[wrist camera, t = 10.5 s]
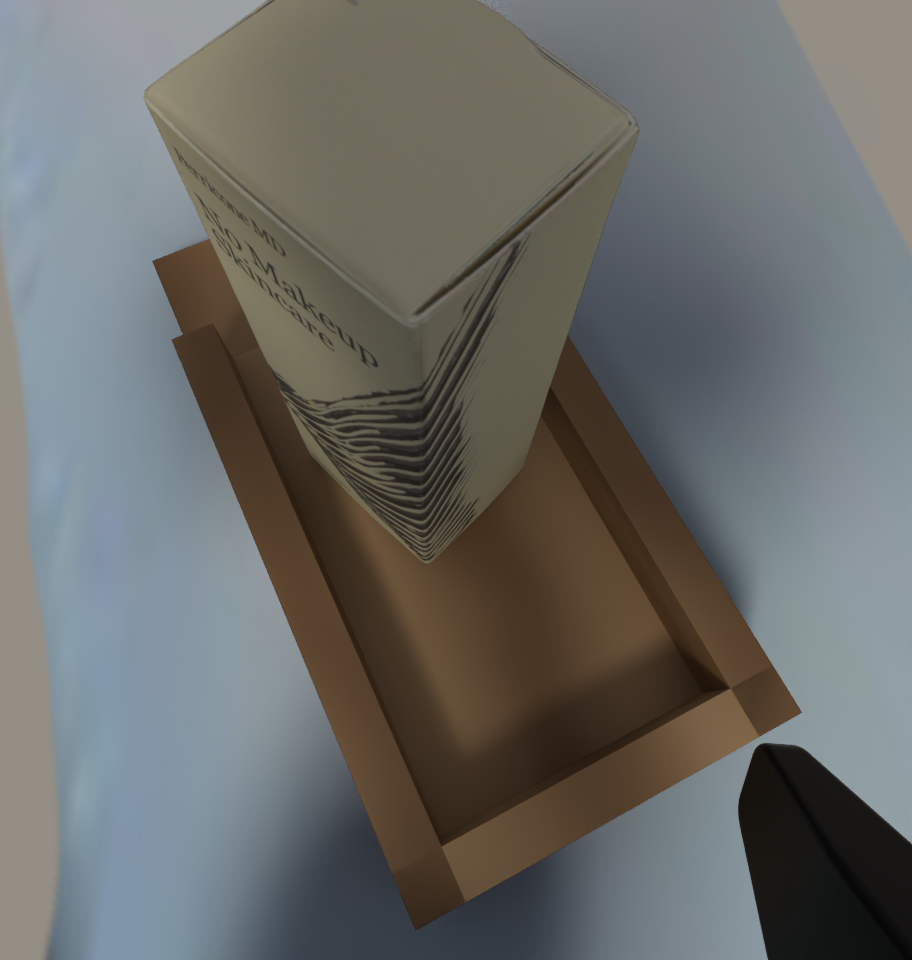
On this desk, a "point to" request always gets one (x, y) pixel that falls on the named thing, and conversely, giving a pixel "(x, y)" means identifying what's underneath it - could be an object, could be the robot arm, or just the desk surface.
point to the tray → (486, 623)
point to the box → (400, 232)
